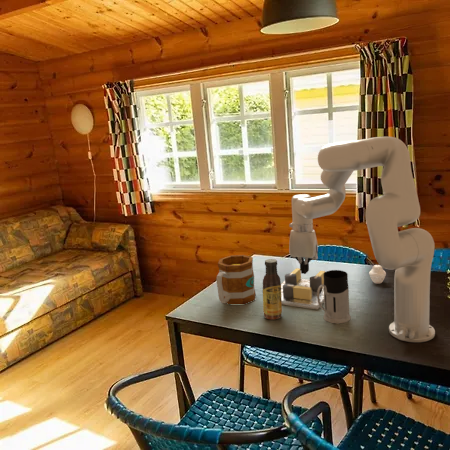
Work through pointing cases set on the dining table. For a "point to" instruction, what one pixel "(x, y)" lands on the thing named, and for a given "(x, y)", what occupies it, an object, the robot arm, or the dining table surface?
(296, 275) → the knob left
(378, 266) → the white carved ornament
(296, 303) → the base plate
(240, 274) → the mug
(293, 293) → the knob front
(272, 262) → the sauce bottle
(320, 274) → the knob right
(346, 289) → the glass holder
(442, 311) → the dining table surface
